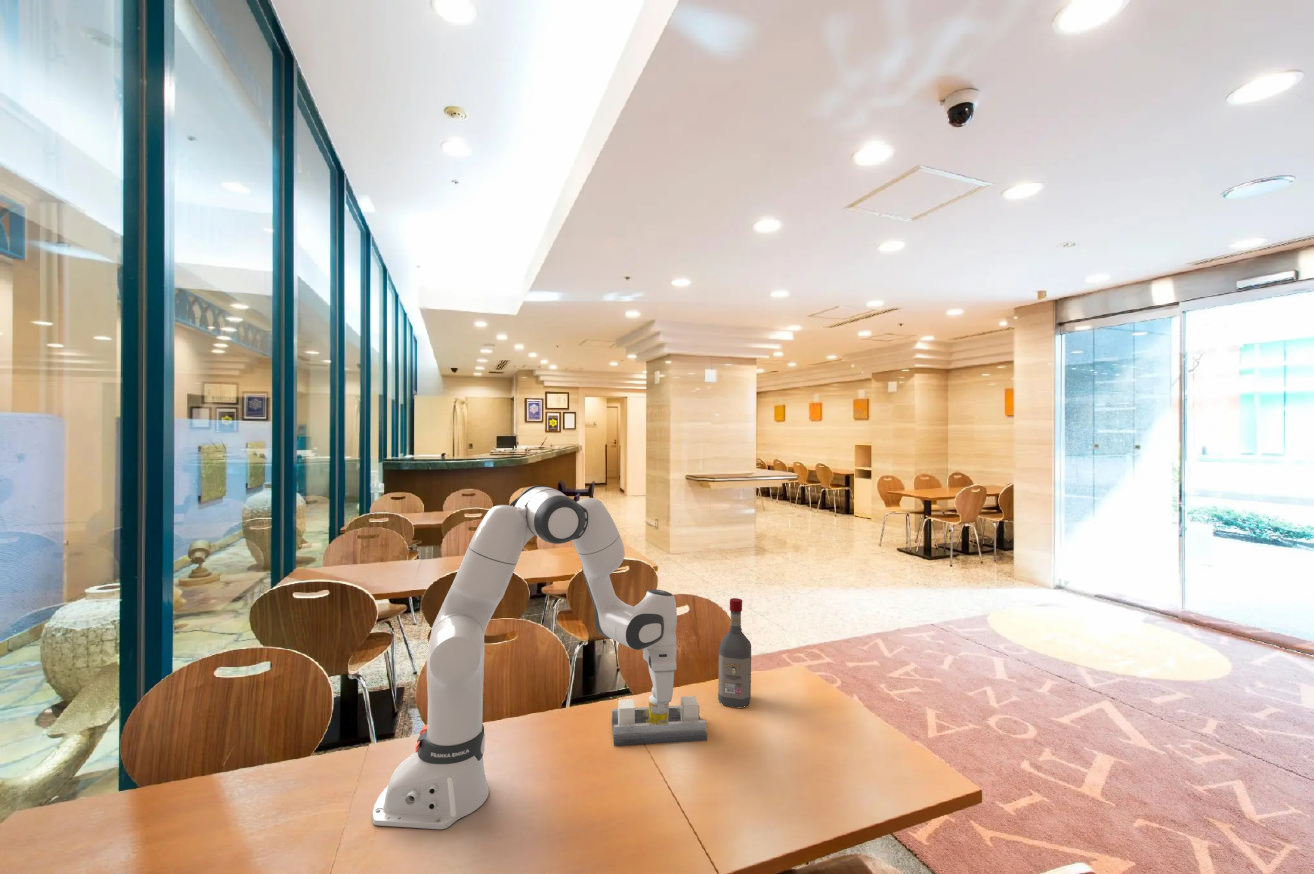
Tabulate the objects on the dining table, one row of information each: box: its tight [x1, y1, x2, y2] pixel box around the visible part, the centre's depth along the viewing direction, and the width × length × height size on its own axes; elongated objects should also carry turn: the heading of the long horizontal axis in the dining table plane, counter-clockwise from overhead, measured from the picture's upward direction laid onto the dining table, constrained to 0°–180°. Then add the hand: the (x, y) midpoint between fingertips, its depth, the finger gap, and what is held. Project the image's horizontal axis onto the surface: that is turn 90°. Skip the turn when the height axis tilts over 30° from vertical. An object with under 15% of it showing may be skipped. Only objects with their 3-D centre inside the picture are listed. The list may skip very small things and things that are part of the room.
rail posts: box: [617, 695, 700, 725], centre depth 142 cm, size 21×5×6 cm, turn 98°
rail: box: [611, 704, 708, 747], centre depth 142 cm, size 24×12×4 cm, turn 98°
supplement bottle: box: [648, 686, 670, 723], centre depth 142 cm, size 5×5×10 cm
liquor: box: [717, 597, 752, 708], centre depth 159 cm, size 9×9×30 cm
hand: (659, 703), depth 142 cm, fingers open, 5 cm apart
